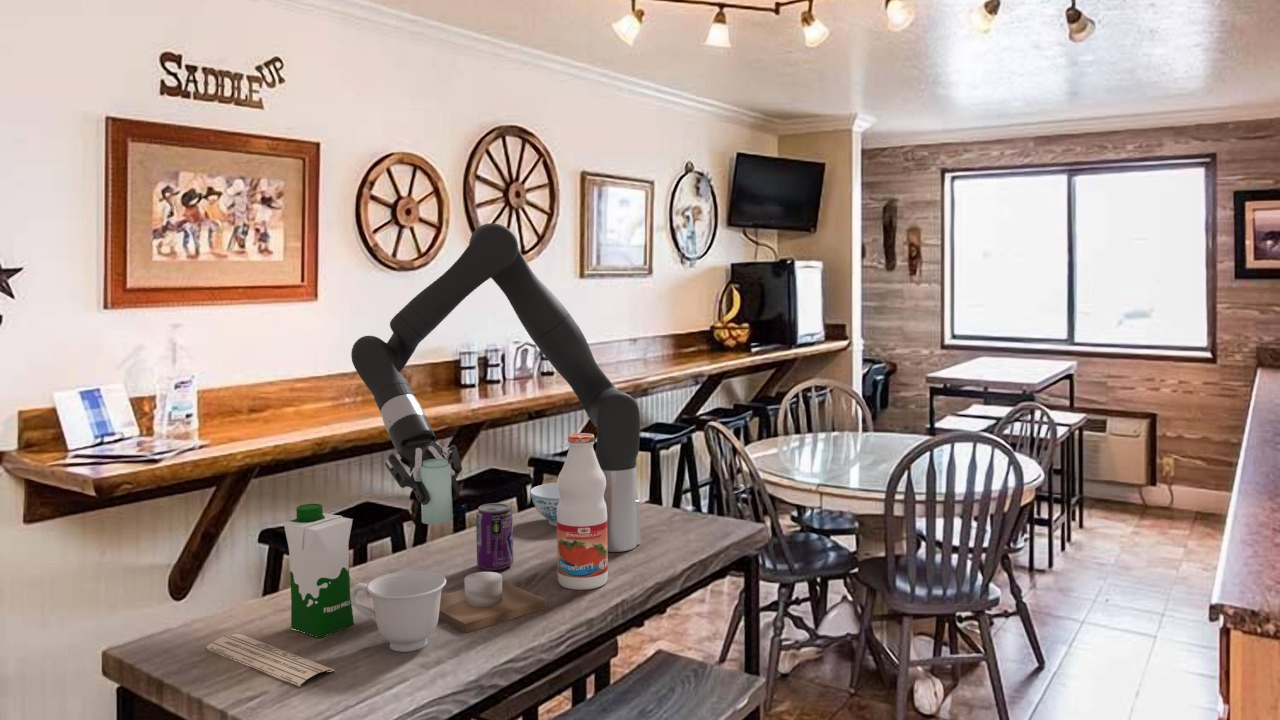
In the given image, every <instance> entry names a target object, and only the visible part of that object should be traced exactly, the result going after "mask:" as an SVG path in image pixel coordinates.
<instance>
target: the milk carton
mask: <svg viewBox="0 0 1280 720" xmlns="http://www.w3.org/2000/svg"><path fill="white" fill-rule="evenodd" d="M353 520H354V518H349V517H345V516H344V517H343V516H342V515H340V514H339V515H336V514H332V513H326V512H323V505H322V504H321V503H307V504H301V505H298V506H297V507H296V518H295V519H292V520H289V521H286V522H284V523H283V527H284V532H285V537H286V541H287V546H288V553H289V555H288V556H289V575H290V576H289V579H290V580H289V581H290V598H291V599H290V601H291V607H290V608H291V609H290V614H291V615H290V617H291V618H290V619H291V620H290V623H291V624H290V625H291V626H290V629H291V628H293V629H296V630H299V631H302V632H305V633H308V634H311V635H313V636H312V637H314V636H317V637H322V638H324V637H326V636H325V635H327V634H329V635H331V634H333V632H334V633H336V632H338V631H337V630H339V631H340V629H341V630H343V629H346V628H347V627H351V626H353V625H355V622H354V621H355V620H354V614H353V604H352V602H351V599H350V594H351V577H350V556H349V555H350V554H349V551H350V550H349V545H350V544H349V543H350V542H349V541H350V536H351V531H352V526H353ZM350 625H351V626H350ZM345 627H346V628H345ZM342 628H343V629H342ZM335 631H336V632H335ZM330 633H331V634H330ZM311 635H310V636H311ZM323 636H324V637H323ZM327 636H328V635H327ZM317 637H316V638H317Z"/></svg>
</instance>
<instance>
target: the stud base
mask: <svg viewBox="0 0 1280 720" xmlns="http://www.w3.org/2000/svg"><path fill="white" fill-rule="evenodd" d="M544 609H546V599H545V598H542V597H541V596H538V595H536V594H533V593H531V592H529V591H527V590H524V589H522V588H520V587H517V586H515V585H513V584H511V583H509V582H507V581H504V580H503V576H502V574H500V573H499V572H493V571H480V572H479V571H478V572H473V573H470V574H468V575H466V576H465V577H464V589H461V590H458V591H453V592H451V593H446V594H441V598H440V609H439V617H438V620H441V621H443V622H445V623H446V624H448V625H450V626H452V627H454V628H455V629H458V630H459V631H461V632H462V633H464V634H465V633H469V632H472V631H476V630H479V629H483V628H486V627H490V626H492V625H495V624H498V623H501V622H505V621H508V620H512V619H515V618H517V617H522V616H524V615H528V614H532V613H535V612H537V611H541V610H544Z"/></svg>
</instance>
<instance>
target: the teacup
mask: <svg viewBox="0 0 1280 720" xmlns="http://www.w3.org/2000/svg"><path fill="white" fill-rule="evenodd" d="M446 584H447V579H446V578H445V576H443V575H441V573H437V572H433V571H427V570H405V571H402V570H401V571H397V572H391V573H387V574H384V575H381V576H379V577H376V578H374V579H372V580H371V581H370V582H369V583H368V584H367V583H365V582H357V583H356V584H355V585H353V587H352V588H351V589H350V599H351V604H352V607H354V608H355V610H357V611H359V612H360V613H363V614H366V615H368V616H370V617H371V618H373V620H375V623H376V626H377V629H378V632H379V633H380V635H381V636H382V638H384V640H387V641H389V643H390V644H389V648H390V649H391V650H392V651H395V652H399V653H400V652H401V653H402V652H403V653H406V652H407V653H408V652H415V651H417V650H421V649H423V648H424V647H426V646H427V644H428V637H430V636H431V635H432V634H433V633H434V632H435V631H436V628H437V626H438V622H439V618H438V617H439V609H440V598H441V596H442V591H443V587H445V586H446ZM358 591H363V592H364V593H365V597H366V598H367V599H370V598H371V599H372V604H373V608H370V607H369V606H366V605H364V604H363V603H361V601H360V600H359V599H358V596H357V592H358Z"/></svg>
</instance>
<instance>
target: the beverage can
mask: <svg viewBox="0 0 1280 720" xmlns="http://www.w3.org/2000/svg"><path fill="white" fill-rule="evenodd" d="M475 522H476V523H475V525H476V527H475V528H476V529H475V530H476V531H475V533H476V564H477V566H478V567H480V568H482V569H484V570H486V571H500V569H501V570H504V569H506V568H508V567H509V566H511V565H513V564H514V535H513V534H514V532H513V530H514V526H513V525H514V523H513V513H512V512H511V506H510V505H509V504H507V503H501V502H497V503H496V502H494V503H493V502H492V503H485V504H481V505H480V506H478V511H477V514H476V516H475Z"/></svg>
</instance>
